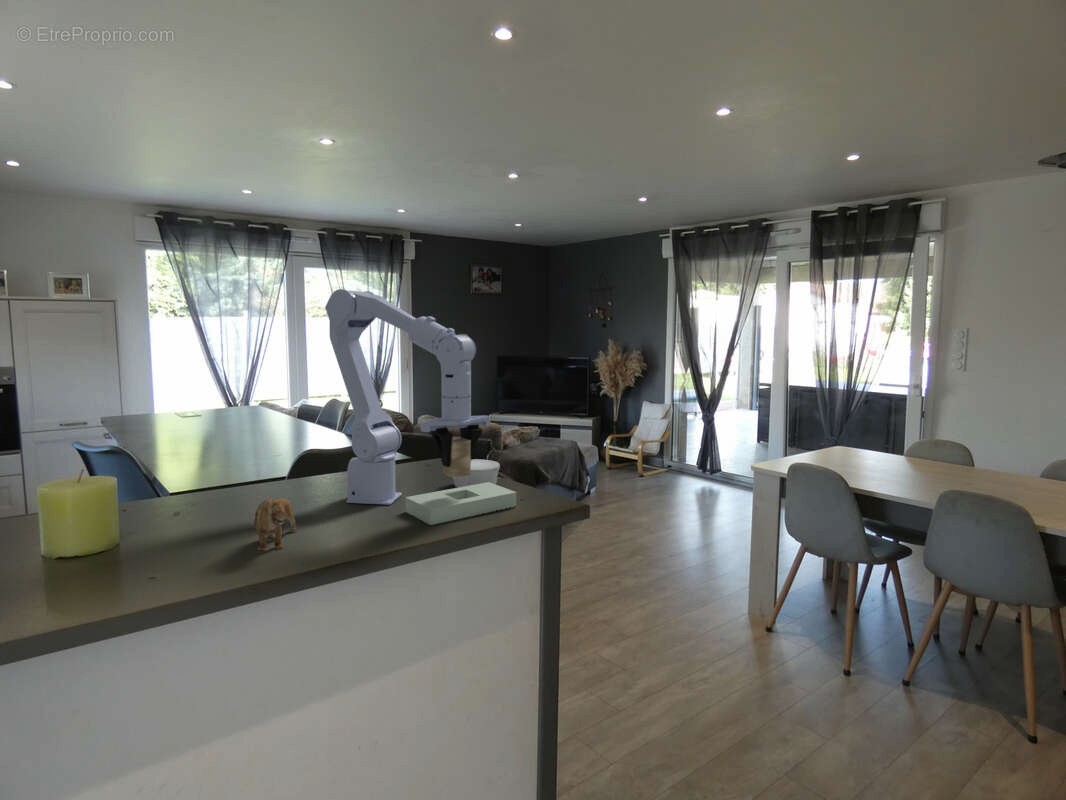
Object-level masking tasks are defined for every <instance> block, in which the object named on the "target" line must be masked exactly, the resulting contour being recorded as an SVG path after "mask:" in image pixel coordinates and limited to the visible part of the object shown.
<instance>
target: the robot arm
mask: <svg viewBox="0 0 1066 800" xmlns="http://www.w3.org/2000/svg"><path fill="white" fill-rule="evenodd" d="M324 307H325V311H326V314H327V317H328V320H329V340H330V343H331V346H332V349H333V352H334V355H335V359H336V361H337V362H336V363H338V364H337V365H338V366H339V370H340V373H341V377H342V379H343V382H344V383H343V384H344V385H345V388H346V391H347V395H348V399H349V401H350V404H351V407H352V410H353V413H354V415H355V419H354V420H353V422H352V424H351V426H350V428H349V430H350V433H351V448H352V451H353V453H354V455H355V456H356V457H352V458H351V459H349V462H348V464H347V470H346V480H347V481H346V482H347V484H346V485H347V500H346V503H347V504H348V503H349V504H364V505H365V504H366V505H368V504H369V505H392V504H393V503H394V502H395V501H396V500H398V498H400V497H401V496H402V494H403V493H402V491H401V492H399V491H396V456H397V451H398V450H399V448H400V447H401V445H402V441H403V439H402V433H401V431H400V429H399V427H397V426H396V424H395V423H394V421H393V418H392V416H391V415H390V414H388V413H387V412H386V411H384V410H383V409H382V406H381V403H380V401H379V397H378V395H377V391H376V388H375V385H374V382H373V379H372V377H371V376H372V375H371V374H370V370H369V366H368V365H367V360H366V358H365V355H364V351H363V349H362V345H361V342H360V338H361V335H362V334H363V332H364V331H365V330H366V329H367V328H369V326H370V325H371V324H372V323H373V322H374V321H375V319H379V320H381V321H383V322H385V323H387V324H389V325H391V326H393V327H395V328H398V329H399V330H401V331H403V332H405V333H407V334H408V338H409V341H410V342H411V343H413V344H414V345H416V346H418V347H420V348H422V349H423V350H425V351H427V352H429V353H430V354H433V355H435V357H436V359H437V361H438V362H439V364H440V371H441V417H439V418H438V417H437V418H434V419H427V420H421V421H420V431H421V432H424V433H429V432H430V435H431V436H432V439H433V440H434V442H435V443H436V444H435V445H436V447H437V450H438V452H439V456H440V461H441V463H442V467H443V466H446V467H450V462H451V443H452V438H454V434H453V433H451V432H450V430H453V429H454V430H455V429H459V433H460V437H462V438H465V439H468V440H471V460H473V454H474V451H475V448H476V446H477V443H478V441H479V439H480V438H481V435H482V434H483V428H481V427H483V426H484V427H490V426H491V416H490V415H486V414H485V415H483V414H482V415H472V361H473V359H474V358H475V356H476V353H477V347H476V344H475V342H474V340H473V339H472V338H471V337H470V336H469V335H468V334H466V333H459V334H456V332H455V329H454V328H452V327H448V328H447V327H445V326H443V325H441V324H439V323H438V322H437V321H436V320H437V319H436V318H435V317H433V316H432V315H430V316H429V315H428V316H424V315H423V316H420V317H417V318H416V317H414V316H413V315H412V314H410V313H409V312H406V311H405V310H403V309H401V308H400V307H398V306H397V305H395V304H393V302H390V301H388V300H387V299H385V298H384V297H383V296H381V295H378V294H375V293H373V292H372V291H369V290H367V291H361V290H360V291H358V290H357V291H356V290H347V289H342V288H341V289H336V290H334V291H333V292H332V293H331V294H330V296H329V298H328V300H327V303H326V305H325V306H324Z"/></svg>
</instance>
